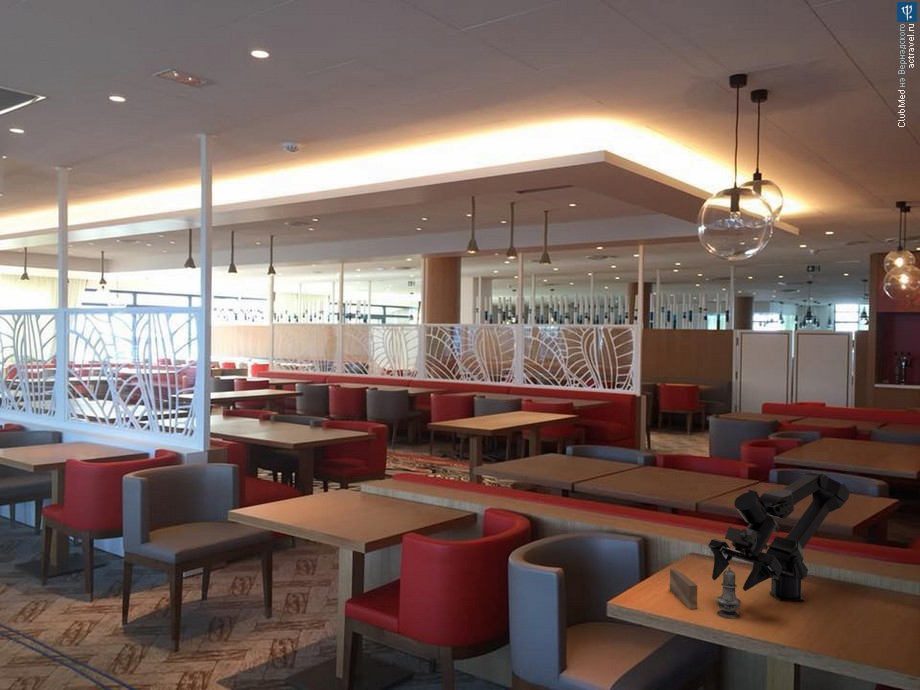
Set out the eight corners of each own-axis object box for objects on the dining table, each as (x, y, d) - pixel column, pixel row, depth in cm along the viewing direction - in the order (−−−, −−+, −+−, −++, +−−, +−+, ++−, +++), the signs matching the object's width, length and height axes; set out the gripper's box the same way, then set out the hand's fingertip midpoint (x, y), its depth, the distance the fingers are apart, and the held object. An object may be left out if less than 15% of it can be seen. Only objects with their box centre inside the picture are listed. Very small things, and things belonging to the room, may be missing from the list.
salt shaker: (742, 619, 191) (743, 571, 191) (717, 617, 192) (718, 569, 192) (738, 611, 197) (740, 564, 197) (714, 609, 198) (715, 562, 198)
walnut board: (676, 590, 212) (677, 568, 212) (697, 608, 198) (697, 585, 198) (669, 590, 212) (670, 568, 212) (689, 609, 198) (689, 585, 198)
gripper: (713, 507, 205) (683, 555, 199) (776, 523, 189) (746, 575, 183) (732, 533, 209) (703, 581, 203) (795, 551, 194) (766, 603, 188)
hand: (728, 584), depth 194 cm, fingers open, 9 cm apart
